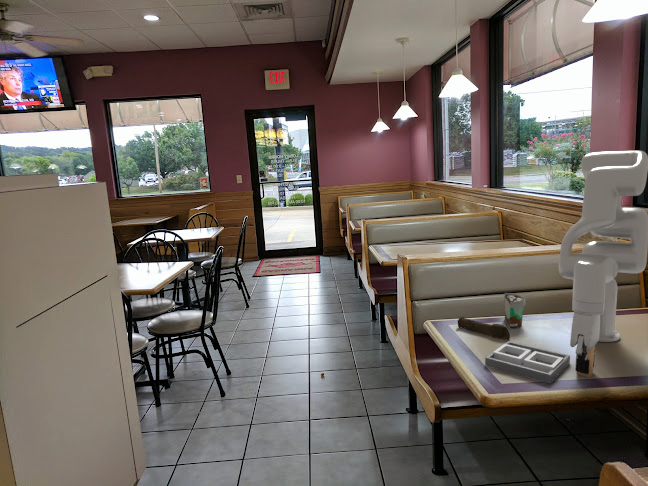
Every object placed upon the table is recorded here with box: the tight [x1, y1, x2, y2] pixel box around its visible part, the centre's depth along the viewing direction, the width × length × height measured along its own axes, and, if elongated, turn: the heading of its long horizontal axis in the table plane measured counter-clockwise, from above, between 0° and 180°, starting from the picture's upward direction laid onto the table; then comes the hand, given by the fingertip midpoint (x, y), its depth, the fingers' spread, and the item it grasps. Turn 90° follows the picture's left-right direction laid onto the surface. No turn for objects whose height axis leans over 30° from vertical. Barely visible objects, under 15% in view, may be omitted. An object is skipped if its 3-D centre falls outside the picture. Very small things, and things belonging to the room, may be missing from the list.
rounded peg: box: [575, 346, 595, 378], centre depth 128 cm, size 4×4×8 cm
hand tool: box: [457, 316, 511, 341], centre depth 161 cm, size 19×4×5 cm, turn 38°
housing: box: [484, 340, 571, 384], centre depth 136 cm, size 16×18×3 cm
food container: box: [504, 292, 527, 329], centre depth 168 cm, size 12×6×10 cm, turn 168°
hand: (584, 368), depth 129 cm, fingers closed on rounded peg, 4 cm apart
